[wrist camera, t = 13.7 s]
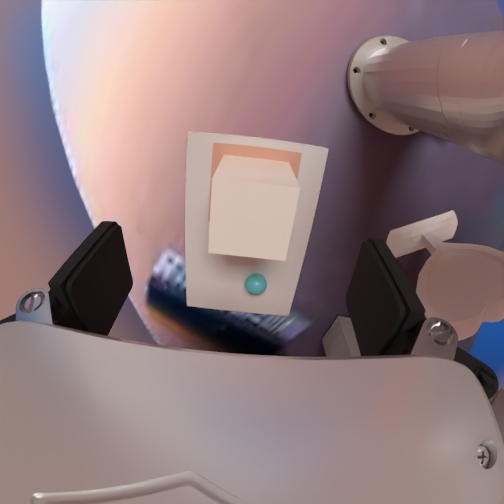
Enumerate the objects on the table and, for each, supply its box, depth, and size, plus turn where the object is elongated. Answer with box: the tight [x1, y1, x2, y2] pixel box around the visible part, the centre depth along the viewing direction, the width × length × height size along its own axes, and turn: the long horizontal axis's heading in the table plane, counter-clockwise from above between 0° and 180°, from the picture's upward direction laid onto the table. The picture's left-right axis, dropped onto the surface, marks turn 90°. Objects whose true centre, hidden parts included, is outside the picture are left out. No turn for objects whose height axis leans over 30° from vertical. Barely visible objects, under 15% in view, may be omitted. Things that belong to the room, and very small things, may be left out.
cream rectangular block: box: [208, 155, 300, 261], centre depth 29 cm, size 7×7×9 cm
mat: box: [185, 132, 328, 316], centre depth 36 cm, size 16×26×1 cm, turn 173°
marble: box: [245, 273, 267, 295], centre depth 38 cm, size 3×3×3 cm
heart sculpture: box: [386, 210, 504, 341], centre depth 28 cm, size 16×5×18 cm, turn 110°
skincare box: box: [322, 316, 361, 357], centre depth 40 cm, size 8×7×16 cm
